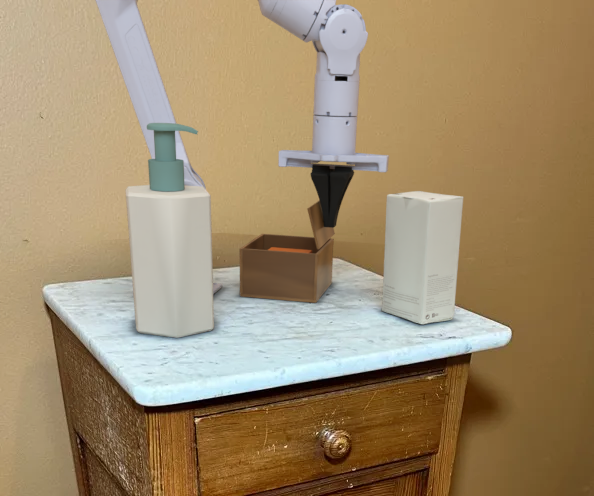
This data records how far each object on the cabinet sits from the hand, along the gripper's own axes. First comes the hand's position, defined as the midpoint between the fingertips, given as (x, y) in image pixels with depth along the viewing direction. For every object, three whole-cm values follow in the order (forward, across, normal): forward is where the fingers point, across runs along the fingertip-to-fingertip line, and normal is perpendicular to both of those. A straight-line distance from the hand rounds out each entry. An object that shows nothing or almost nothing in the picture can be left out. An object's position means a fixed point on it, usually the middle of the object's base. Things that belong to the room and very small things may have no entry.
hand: (330, 226), depth 107 cm
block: (+8, -6, -1) cm, 10 cm away
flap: (-1, -1, -1) cm, 2 cm away
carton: (+9, -6, -1) cm, 11 cm away
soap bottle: (+9, -15, -23) cm, 29 cm away
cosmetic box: (+9, +13, -9) cm, 19 cm away
